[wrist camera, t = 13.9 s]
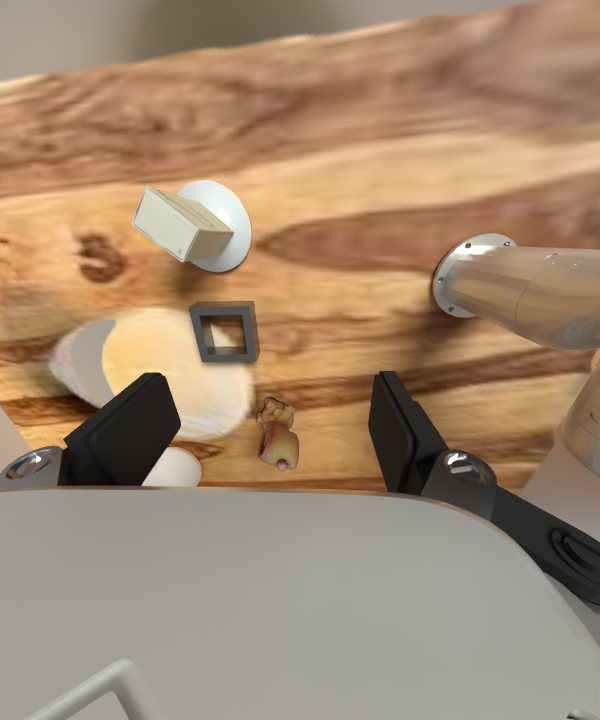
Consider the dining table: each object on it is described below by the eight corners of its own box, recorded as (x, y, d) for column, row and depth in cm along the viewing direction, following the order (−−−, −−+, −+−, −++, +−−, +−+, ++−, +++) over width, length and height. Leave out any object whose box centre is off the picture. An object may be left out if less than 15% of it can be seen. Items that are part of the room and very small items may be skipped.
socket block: (253, 301, 41) (249, 306, 38) (259, 352, 46) (256, 361, 43) (197, 302, 42) (188, 307, 38) (209, 353, 46) (201, 361, 43)
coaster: (246, 179, 33) (244, 178, 32) (256, 270, 39) (255, 271, 38) (163, 183, 34) (159, 182, 33) (184, 272, 39) (182, 272, 38)
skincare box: (235, 232, 35) (202, 229, 25) (220, 257, 37) (183, 264, 26) (198, 200, 34) (145, 183, 23) (184, 228, 35) (129, 223, 25)
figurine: (267, 388, 49) (273, 449, 37) (299, 396, 52) (314, 455, 40) (251, 420, 54) (251, 484, 41) (281, 426, 56) (290, 488, 44)
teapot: (137, 432, 57) (102, 471, 47) (191, 427, 55) (166, 467, 46) (172, 490, 67) (149, 532, 57) (218, 487, 65) (202, 530, 56)
